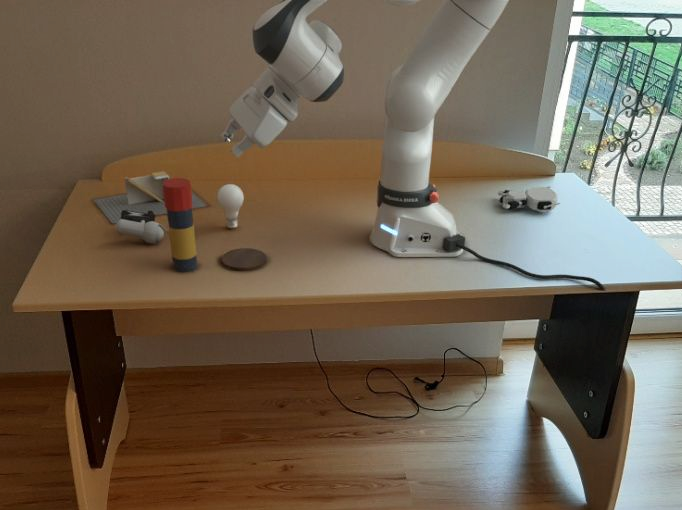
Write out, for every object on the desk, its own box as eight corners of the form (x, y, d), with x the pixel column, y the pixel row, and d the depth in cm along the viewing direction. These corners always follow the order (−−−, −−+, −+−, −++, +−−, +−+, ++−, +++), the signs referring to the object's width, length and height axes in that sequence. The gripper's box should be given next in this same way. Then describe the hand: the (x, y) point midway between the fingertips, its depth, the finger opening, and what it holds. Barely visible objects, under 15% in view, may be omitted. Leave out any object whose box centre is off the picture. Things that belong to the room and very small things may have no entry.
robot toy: (502, 218, 181) (560, 217, 180) (503, 202, 178) (562, 200, 177) (495, 201, 191) (550, 199, 190) (497, 185, 188) (553, 183, 187)
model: (172, 201, 182) (168, 173, 178) (132, 208, 178) (128, 179, 173) (167, 197, 185) (164, 169, 180) (128, 204, 180) (124, 175, 176)
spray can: (200, 262, 153) (194, 194, 144) (193, 273, 149) (186, 203, 140) (177, 260, 154) (169, 192, 145) (169, 271, 149) (161, 201, 141)
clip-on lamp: (195, 238, 171) (120, 223, 167) (199, 213, 168) (123, 198, 164) (191, 254, 160) (111, 239, 157) (195, 229, 157) (114, 212, 154)
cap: (195, 202, 146) (193, 178, 143) (187, 212, 141) (185, 188, 138) (170, 200, 146) (167, 177, 143) (161, 210, 141) (158, 186, 139)
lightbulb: (214, 229, 168) (210, 186, 162) (229, 221, 173) (226, 178, 166) (235, 235, 165) (233, 191, 159) (250, 226, 170) (248, 183, 164)
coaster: (270, 252, 158) (270, 249, 158) (261, 272, 150) (261, 269, 149) (228, 249, 159) (227, 246, 158) (216, 269, 151) (216, 265, 150)
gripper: (250, 71, 143) (207, 122, 146) (277, 96, 127) (228, 152, 130) (271, 92, 147) (229, 141, 150) (300, 119, 131) (251, 173, 134)
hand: (228, 146), depth 140 cm, fingers open, 8 cm apart
